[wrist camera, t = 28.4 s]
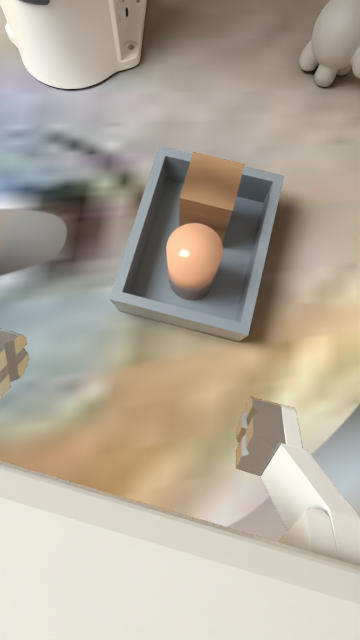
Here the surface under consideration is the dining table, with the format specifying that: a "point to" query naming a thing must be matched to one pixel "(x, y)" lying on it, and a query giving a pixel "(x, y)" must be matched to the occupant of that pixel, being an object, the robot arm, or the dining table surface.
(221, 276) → the box
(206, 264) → the ball
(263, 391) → the dining table surface
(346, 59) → the round bodied animal figurine
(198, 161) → the walnut block
